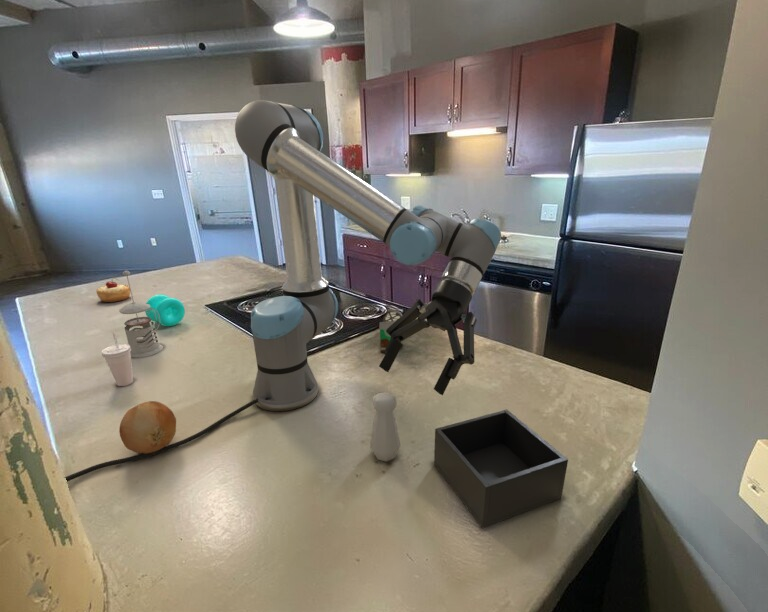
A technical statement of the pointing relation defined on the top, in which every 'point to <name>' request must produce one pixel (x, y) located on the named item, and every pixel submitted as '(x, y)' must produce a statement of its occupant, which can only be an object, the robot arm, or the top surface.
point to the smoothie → (119, 362)
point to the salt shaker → (384, 428)
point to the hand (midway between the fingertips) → (409, 380)
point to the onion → (147, 427)
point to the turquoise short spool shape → (165, 310)
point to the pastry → (113, 292)
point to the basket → (498, 466)
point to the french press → (140, 329)
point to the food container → (386, 323)
